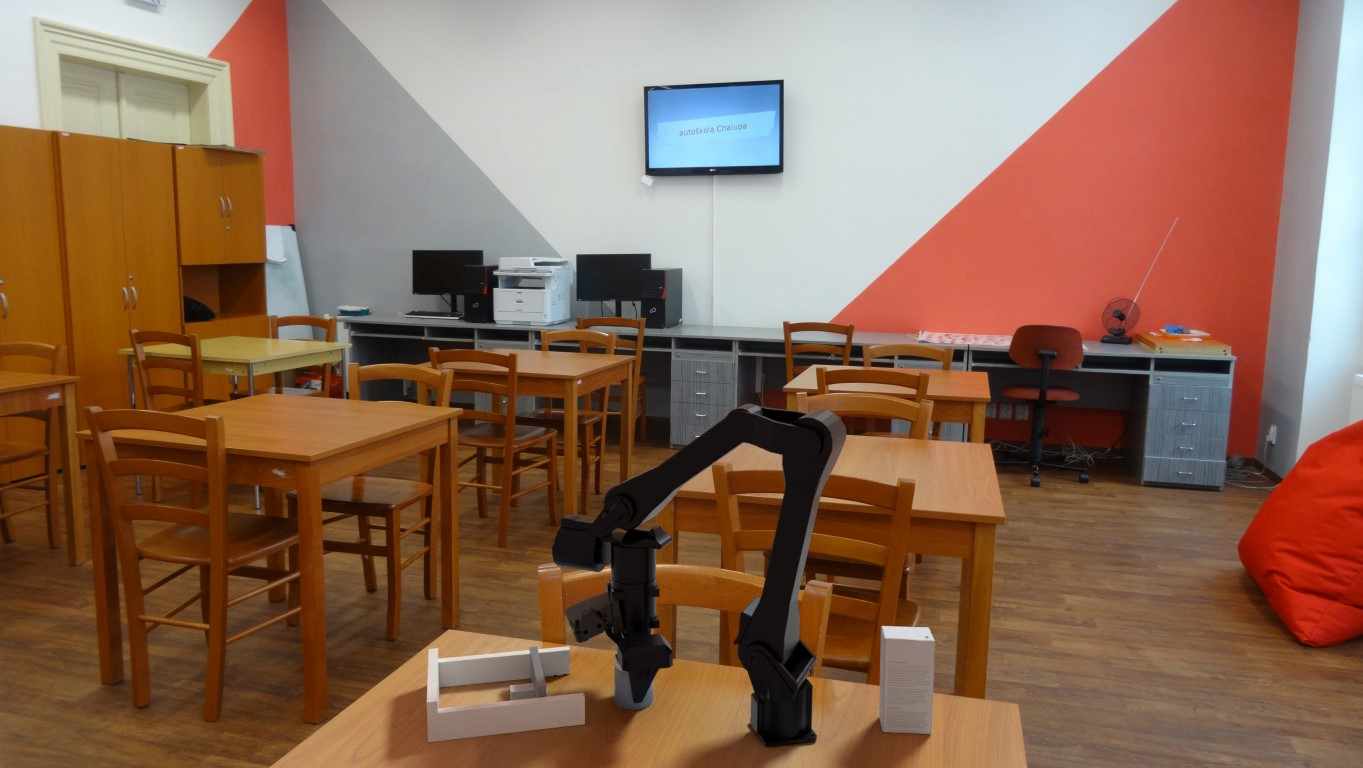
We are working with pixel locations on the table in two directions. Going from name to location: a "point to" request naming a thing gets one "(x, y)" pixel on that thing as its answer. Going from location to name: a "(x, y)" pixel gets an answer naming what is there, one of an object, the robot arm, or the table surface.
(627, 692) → the jar
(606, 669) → the table surface
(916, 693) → the skincare box
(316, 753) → the table surface
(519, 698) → the pusher
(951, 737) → the table surface
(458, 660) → the lane
